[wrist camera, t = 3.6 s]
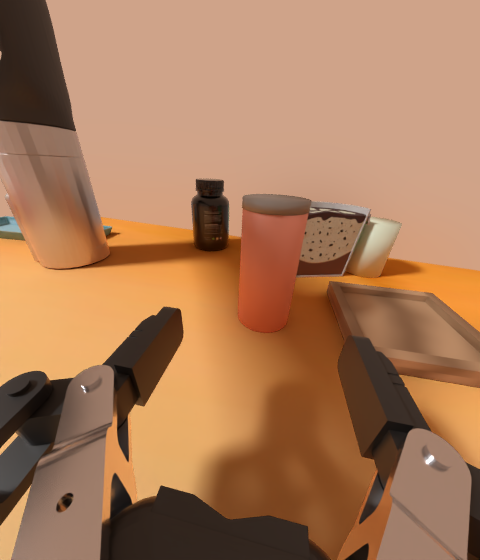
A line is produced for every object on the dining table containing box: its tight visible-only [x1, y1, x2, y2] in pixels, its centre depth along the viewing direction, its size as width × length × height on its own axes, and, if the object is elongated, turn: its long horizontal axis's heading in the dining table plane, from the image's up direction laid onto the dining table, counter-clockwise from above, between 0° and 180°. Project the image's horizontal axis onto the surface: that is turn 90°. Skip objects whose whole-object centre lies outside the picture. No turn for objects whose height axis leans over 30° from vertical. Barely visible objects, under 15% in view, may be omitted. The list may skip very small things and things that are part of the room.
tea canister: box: [238, 194, 312, 333], centre depth 20 cm, size 6×6×12 cm
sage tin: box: [345, 217, 402, 278], centre depth 32 cm, size 6×6×8 cm
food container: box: [296, 202, 371, 277], centre depth 31 cm, size 12×6×10 cm, turn 97°
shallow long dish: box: [0, 216, 112, 240], centre depth 43 cm, size 26×9×2 cm, turn 83°
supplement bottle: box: [191, 179, 229, 251], centre depth 39 cm, size 7×7×12 cm
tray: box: [327, 281, 480, 388], centre depth 21 cm, size 12×12×2 cm
